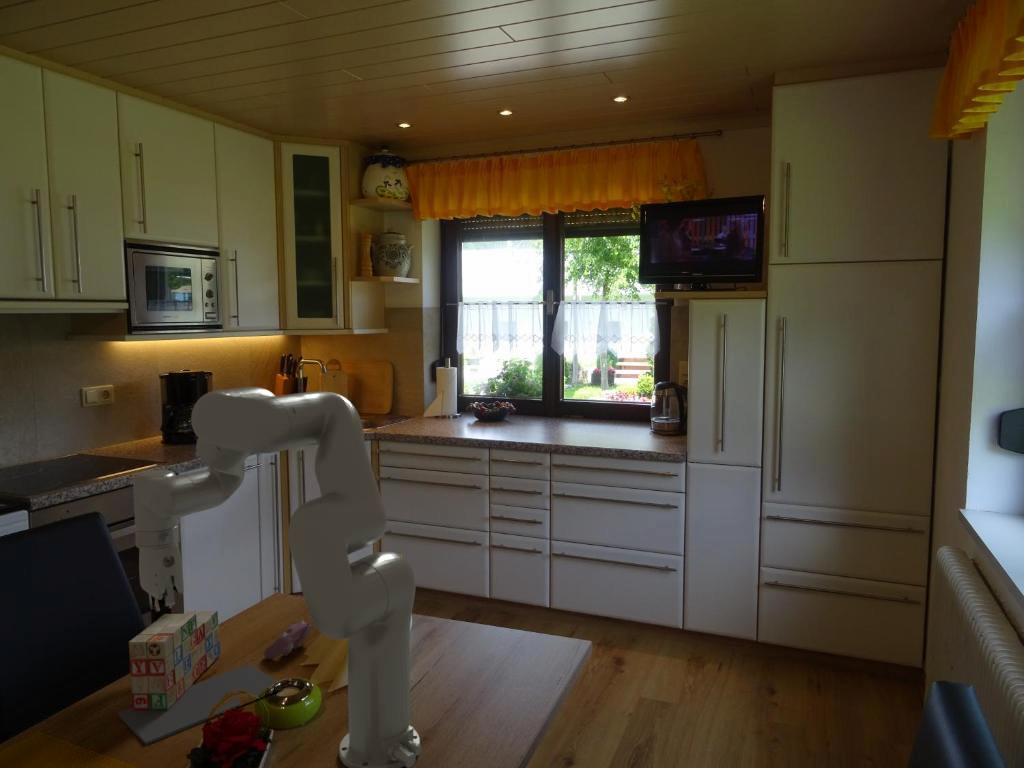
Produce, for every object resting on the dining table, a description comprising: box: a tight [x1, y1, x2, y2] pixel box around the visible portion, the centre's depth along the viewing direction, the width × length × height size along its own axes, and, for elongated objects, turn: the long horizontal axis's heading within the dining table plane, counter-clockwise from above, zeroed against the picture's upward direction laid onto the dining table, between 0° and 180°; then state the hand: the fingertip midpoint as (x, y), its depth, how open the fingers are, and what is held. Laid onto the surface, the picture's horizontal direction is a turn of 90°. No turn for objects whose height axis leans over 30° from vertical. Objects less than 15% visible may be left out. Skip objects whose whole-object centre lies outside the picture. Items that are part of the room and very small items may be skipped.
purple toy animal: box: [263, 620, 314, 660], centre depth 148 cm, size 10×5×7 cm, turn 160°
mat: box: [117, 663, 278, 746], centre depth 129 cm, size 12×24×1 cm, turn 137°
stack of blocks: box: [128, 610, 221, 710], centre depth 135 cm, size 21×6×12 cm, turn 178°
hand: (161, 628), depth 140 cm, fingers closed
